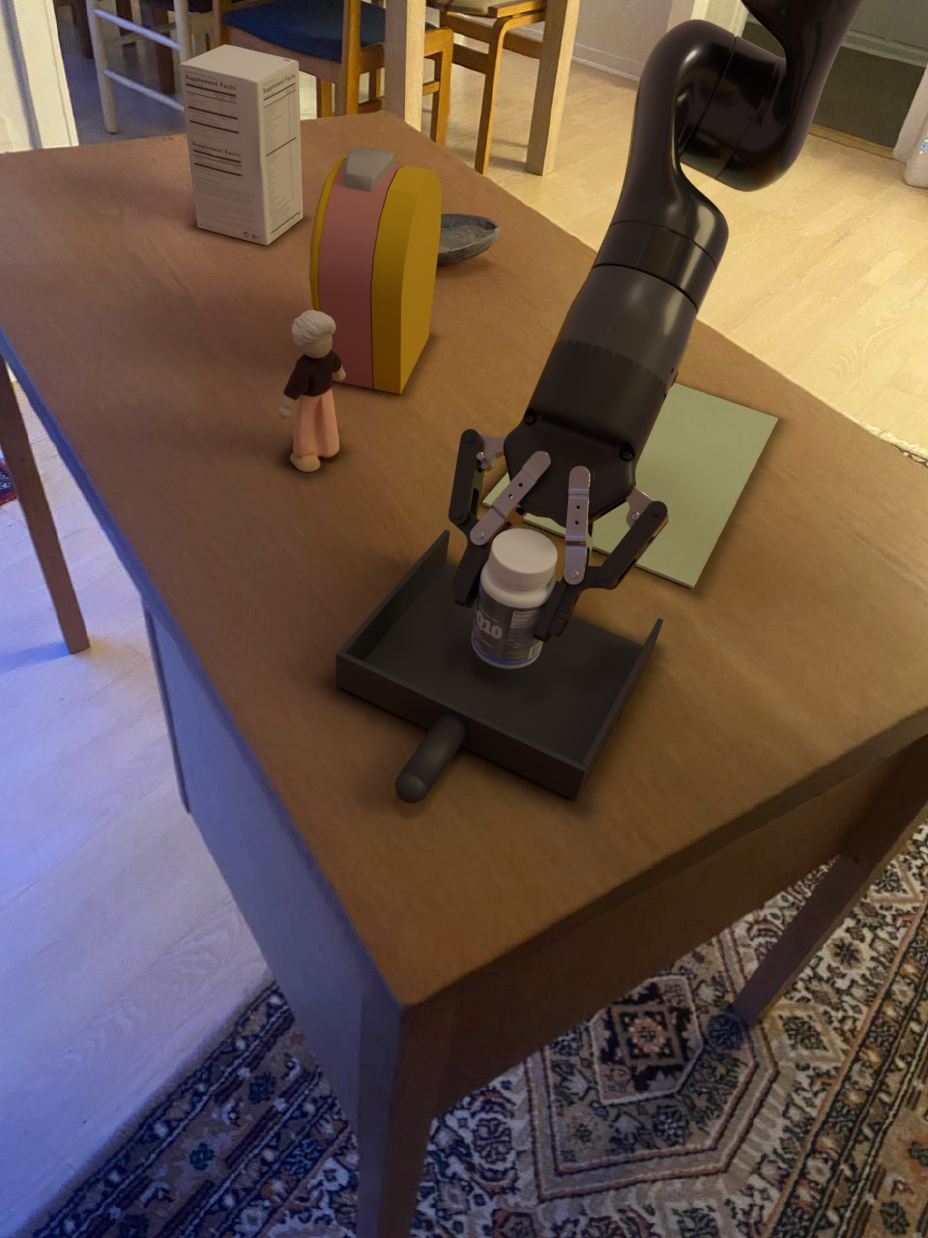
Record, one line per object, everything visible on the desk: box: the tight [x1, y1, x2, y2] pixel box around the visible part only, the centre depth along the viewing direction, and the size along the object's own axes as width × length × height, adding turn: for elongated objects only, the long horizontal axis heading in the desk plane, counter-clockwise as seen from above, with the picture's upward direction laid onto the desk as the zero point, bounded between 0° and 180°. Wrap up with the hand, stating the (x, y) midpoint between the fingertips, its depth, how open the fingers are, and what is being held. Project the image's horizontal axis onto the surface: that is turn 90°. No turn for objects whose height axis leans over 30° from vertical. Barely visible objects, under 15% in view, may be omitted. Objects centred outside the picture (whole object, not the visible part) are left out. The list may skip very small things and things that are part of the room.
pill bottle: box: [471, 527, 558, 669], centre depth 56 cm, size 5×5×8 cm
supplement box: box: [178, 44, 304, 247], centre depth 99 cm, size 10×9×17 cm
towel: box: [481, 382, 779, 590], centre depth 79 cm, size 28×18×1 cm, turn 153°
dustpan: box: [335, 529, 665, 805], centre depth 57 cm, size 20×17×3 cm
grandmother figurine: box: [277, 309, 346, 473], centre depth 71 cm, size 8×4×13 cm, turn 160°
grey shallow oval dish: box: [437, 213, 502, 266], centre depth 102 cm, size 15×12×5 cm
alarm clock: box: [308, 146, 443, 395], centre depth 81 cm, size 15×8×18 cm, turn 168°
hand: (501, 621), depth 55 cm, fingers closed on pill bottle, 4 cm apart
